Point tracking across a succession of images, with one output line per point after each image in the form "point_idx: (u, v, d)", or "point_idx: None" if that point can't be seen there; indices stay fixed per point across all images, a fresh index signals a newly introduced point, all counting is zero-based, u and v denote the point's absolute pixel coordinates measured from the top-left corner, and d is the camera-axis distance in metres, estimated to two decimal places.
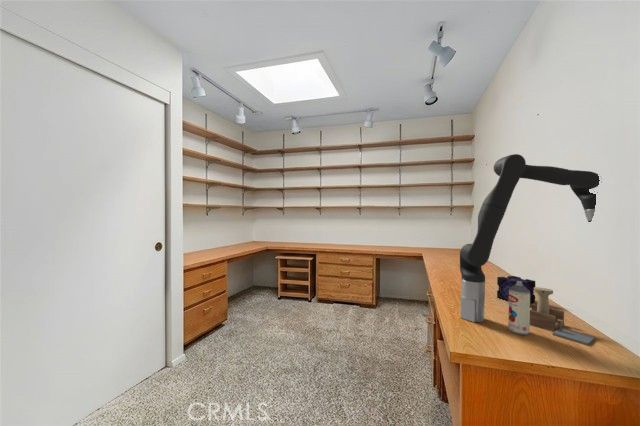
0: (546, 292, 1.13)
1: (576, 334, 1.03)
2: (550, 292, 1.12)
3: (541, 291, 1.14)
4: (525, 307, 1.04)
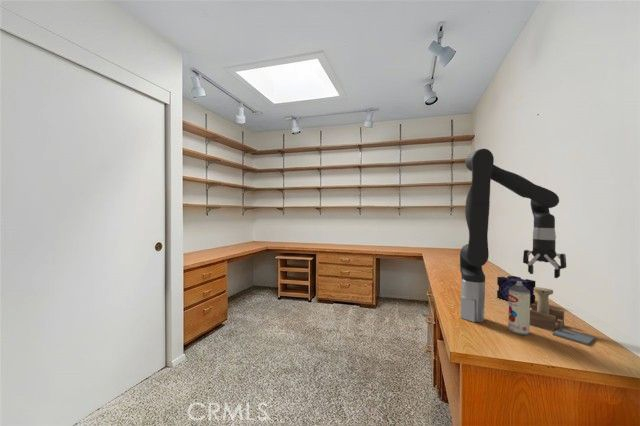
0: (546, 292, 1.13)
1: (576, 334, 1.03)
2: (550, 292, 1.12)
3: (541, 291, 1.14)
4: (525, 307, 1.04)
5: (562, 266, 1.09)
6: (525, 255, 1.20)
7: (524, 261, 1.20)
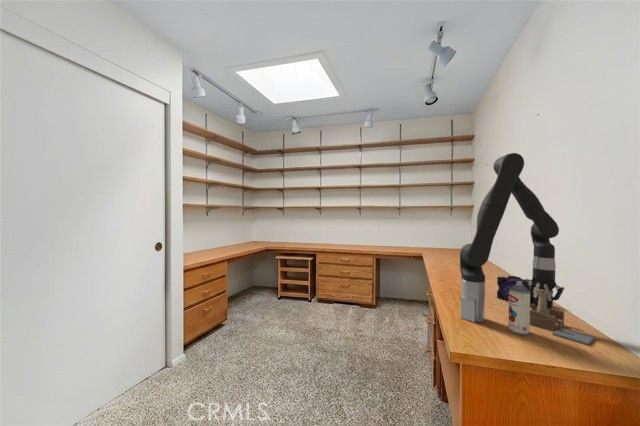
0: (546, 292, 1.13)
1: (576, 334, 1.03)
2: (550, 292, 1.12)
3: (541, 291, 1.14)
4: (525, 307, 1.04)
5: (555, 298, 1.11)
6: (527, 286, 1.19)
7: (530, 293, 1.18)
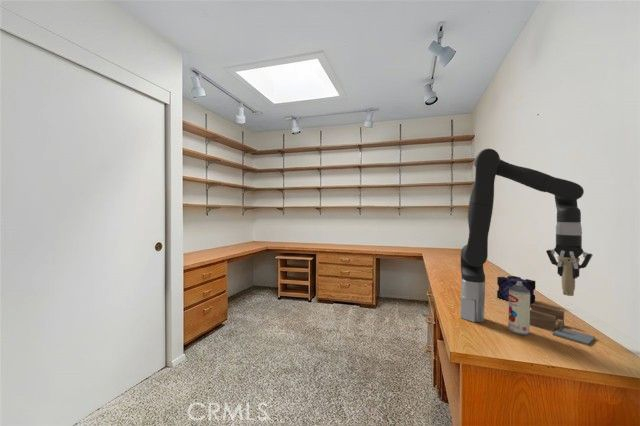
0: (573, 259, 1.03)
1: (576, 334, 1.03)
2: (576, 259, 1.03)
3: (566, 259, 1.05)
4: (525, 307, 1.04)
5: (582, 265, 1.02)
6: (550, 255, 1.10)
7: (553, 262, 1.09)
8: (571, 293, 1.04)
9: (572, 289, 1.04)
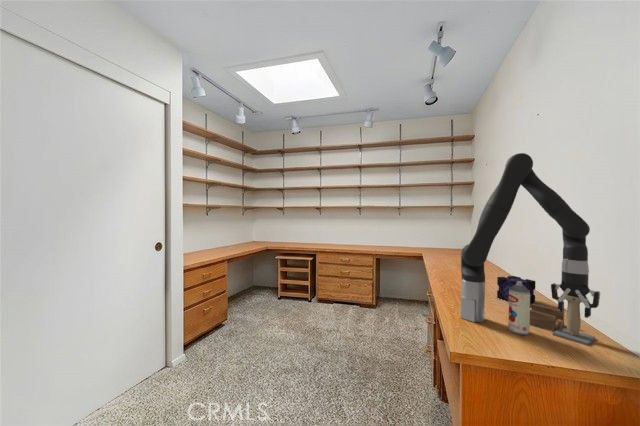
0: (578, 299, 1.01)
1: None
2: None
3: (572, 298, 1.02)
4: (525, 307, 1.04)
5: (594, 305, 0.98)
6: (553, 290, 1.08)
7: (553, 297, 1.07)
8: (576, 333, 1.02)
9: (577, 329, 1.02)
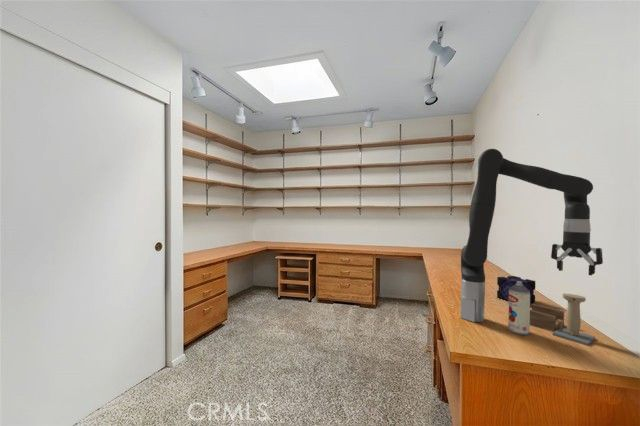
0: (578, 299, 1.01)
1: None
2: (582, 299, 1.00)
3: (572, 298, 1.02)
4: (525, 307, 1.04)
5: (598, 262, 0.97)
6: (554, 250, 1.08)
7: (552, 256, 1.08)
8: (576, 333, 1.02)
9: (577, 329, 1.02)
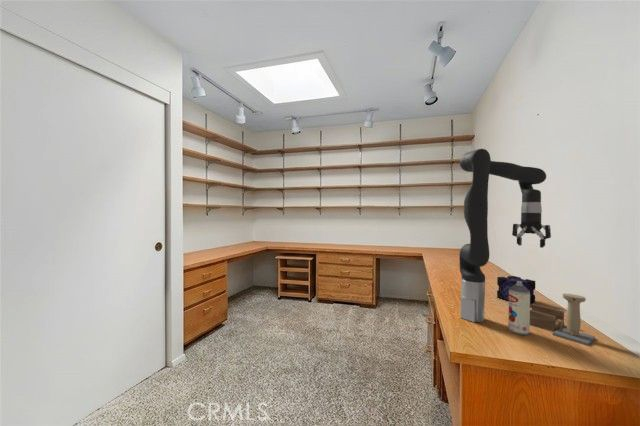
0: (578, 299, 1.01)
1: None
2: (582, 299, 1.00)
3: (572, 298, 1.02)
4: (525, 307, 1.04)
5: (547, 236, 1.20)
6: (514, 228, 1.30)
7: (513, 234, 1.31)
8: (576, 333, 1.02)
9: (577, 329, 1.02)
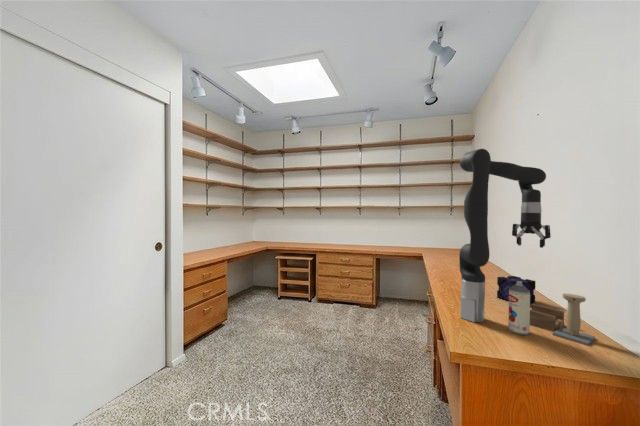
0: (578, 299, 1.01)
1: None
2: (582, 299, 1.00)
3: (572, 298, 1.02)
4: (525, 307, 1.04)
5: (546, 236, 1.20)
6: (514, 228, 1.30)
7: (513, 234, 1.31)
8: (576, 333, 1.02)
9: (577, 329, 1.02)
